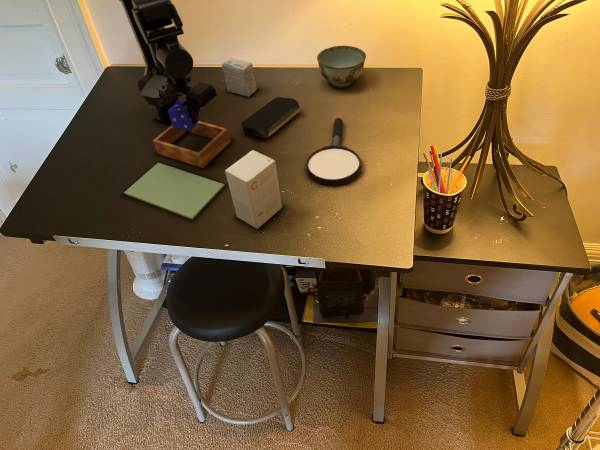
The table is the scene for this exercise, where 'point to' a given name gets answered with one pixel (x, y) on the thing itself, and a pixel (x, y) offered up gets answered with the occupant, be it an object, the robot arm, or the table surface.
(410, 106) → the table surface
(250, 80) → the medicine box
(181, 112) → the die
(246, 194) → the small box
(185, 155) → the pine box
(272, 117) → the black sponge
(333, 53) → the bowl
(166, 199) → the mat
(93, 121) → the table surface
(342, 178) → the magnifying glass
